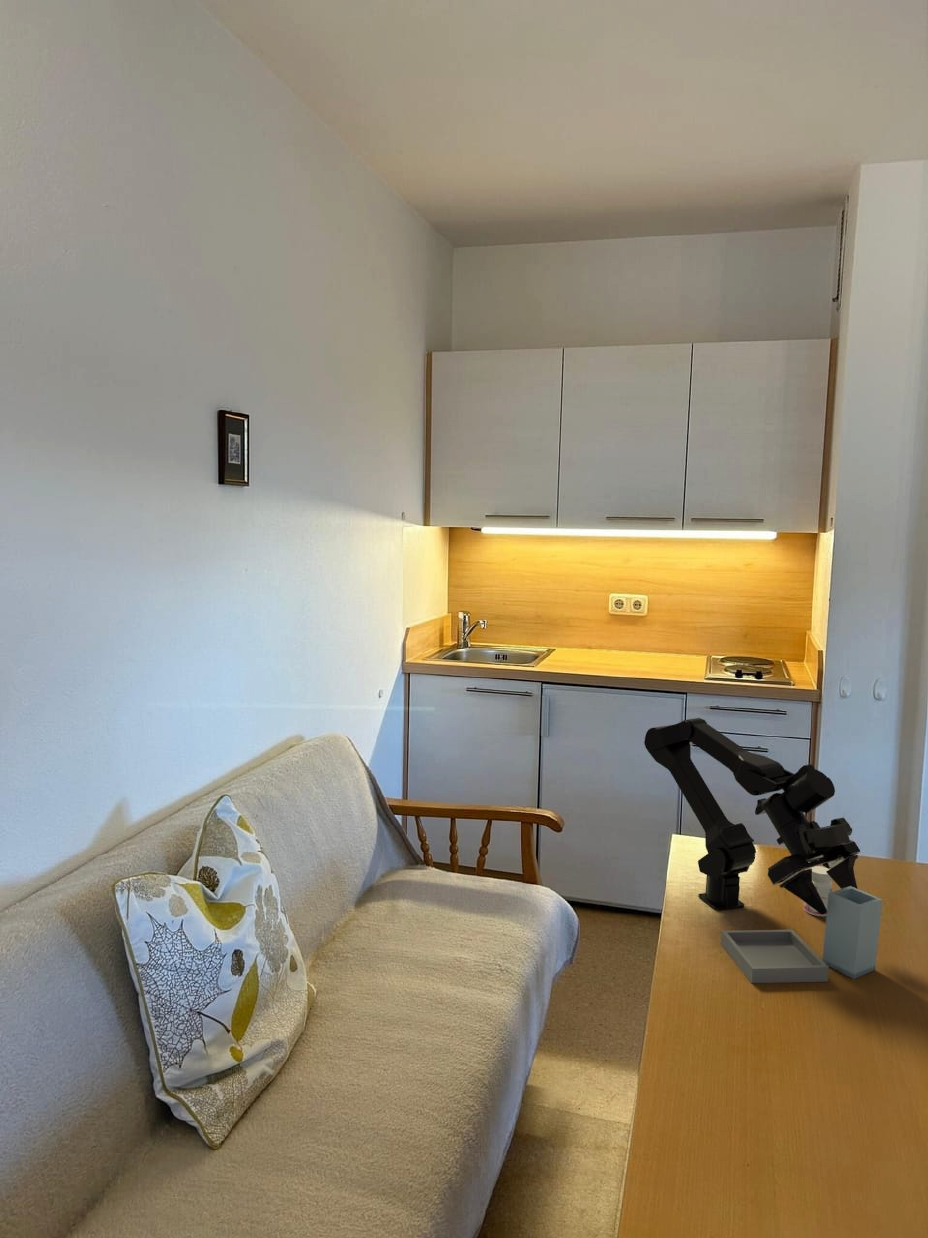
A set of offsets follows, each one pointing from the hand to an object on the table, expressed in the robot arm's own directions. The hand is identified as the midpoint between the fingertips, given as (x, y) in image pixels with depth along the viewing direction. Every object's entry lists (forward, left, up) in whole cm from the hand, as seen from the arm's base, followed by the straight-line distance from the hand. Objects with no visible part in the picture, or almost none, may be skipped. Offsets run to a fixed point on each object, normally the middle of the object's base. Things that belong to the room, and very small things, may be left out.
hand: (841, 908), depth 153 cm
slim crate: (+2, +1, -9) cm, 10 cm away
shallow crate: (-2, -11, -9) cm, 15 cm away
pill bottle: (-17, +10, -10) cm, 22 cm away
